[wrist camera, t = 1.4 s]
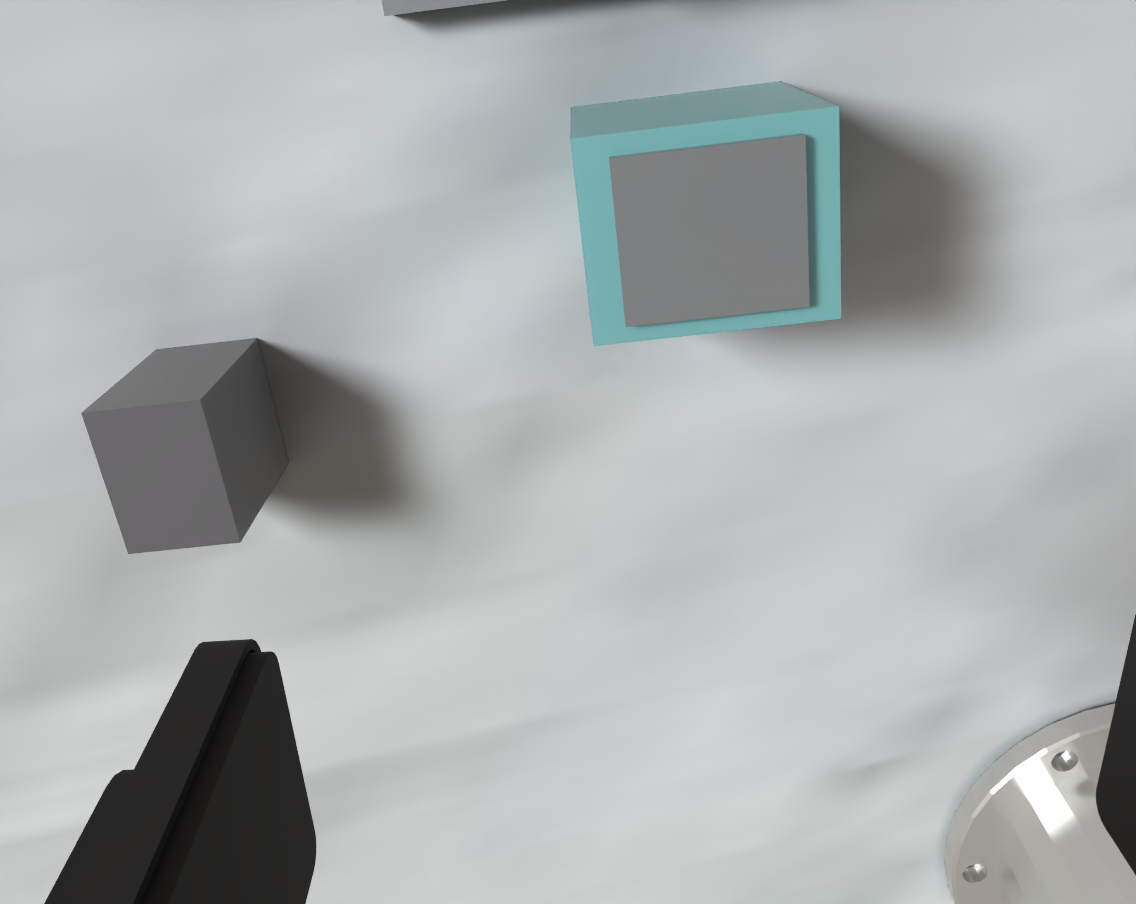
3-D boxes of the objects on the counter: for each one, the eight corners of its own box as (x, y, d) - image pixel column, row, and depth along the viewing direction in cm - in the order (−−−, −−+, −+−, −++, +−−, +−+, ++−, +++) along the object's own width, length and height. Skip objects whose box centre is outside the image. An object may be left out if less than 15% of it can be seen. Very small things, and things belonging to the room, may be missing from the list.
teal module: (780, 81, 27) (842, 107, 21) (785, 251, 29) (844, 322, 22) (571, 107, 27) (569, 140, 21) (589, 273, 29) (593, 350, 23)
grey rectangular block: (257, 337, 30) (200, 400, 25) (288, 462, 31) (240, 542, 27) (156, 349, 30) (81, 413, 25) (192, 473, 31) (128, 553, 27)
